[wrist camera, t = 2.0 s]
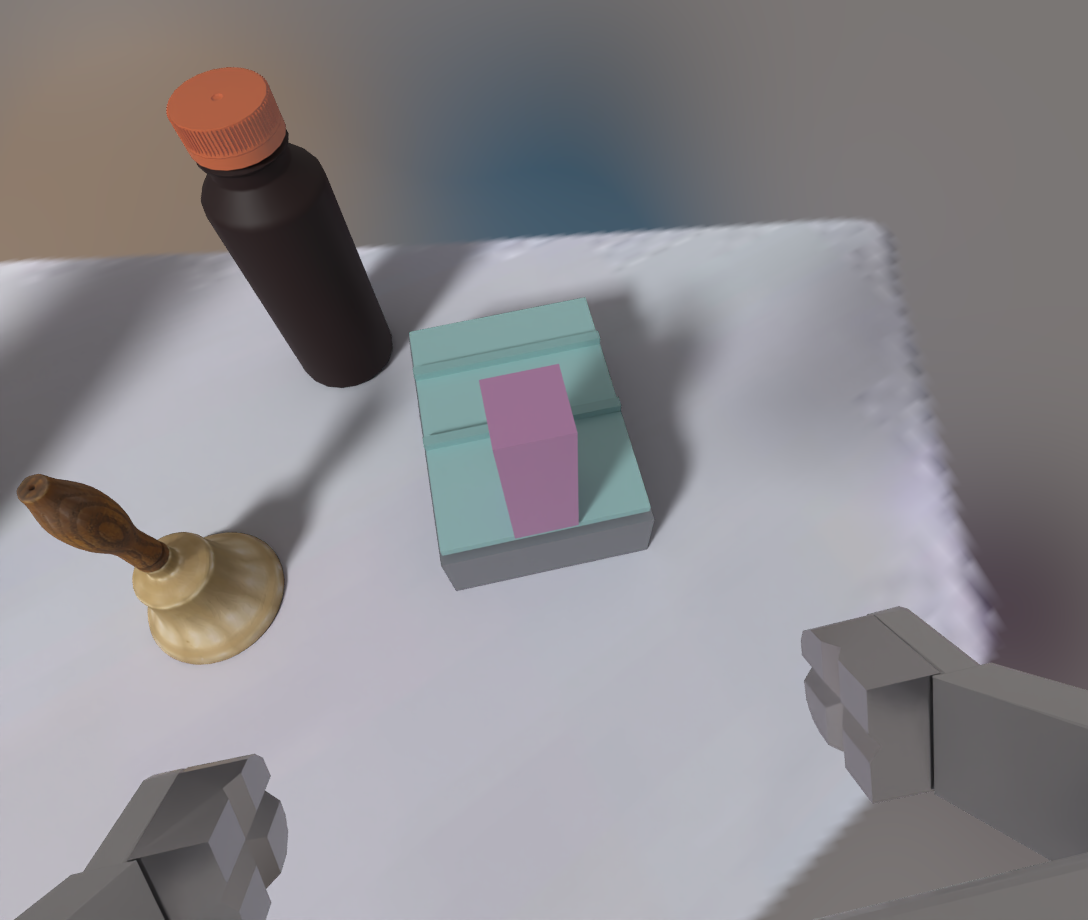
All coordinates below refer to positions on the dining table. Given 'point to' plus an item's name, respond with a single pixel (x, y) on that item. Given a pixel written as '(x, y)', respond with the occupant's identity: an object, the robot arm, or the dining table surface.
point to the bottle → (282, 225)
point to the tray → (545, 549)
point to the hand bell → (171, 571)
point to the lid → (522, 427)
